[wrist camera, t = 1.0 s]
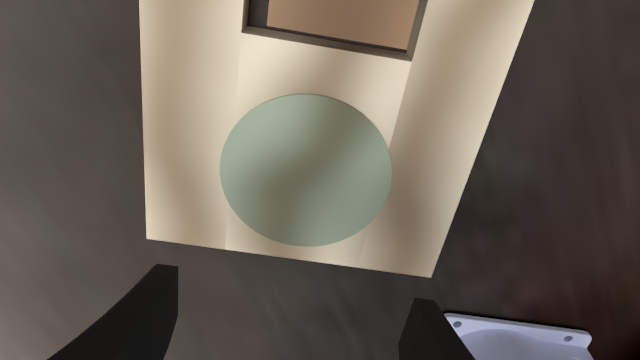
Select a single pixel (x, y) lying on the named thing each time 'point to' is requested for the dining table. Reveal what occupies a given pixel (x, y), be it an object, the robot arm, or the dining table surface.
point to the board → (317, 131)
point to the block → (348, 19)
